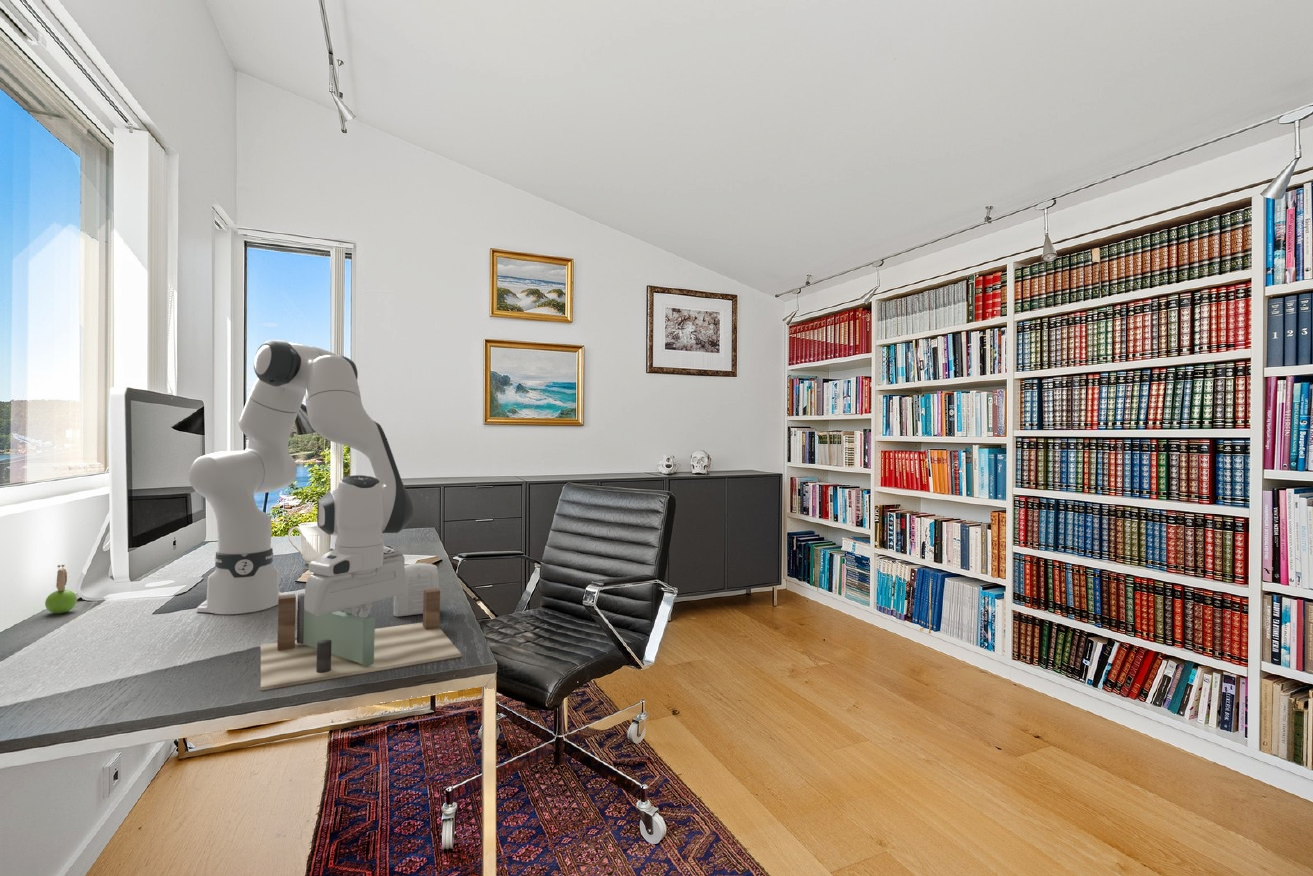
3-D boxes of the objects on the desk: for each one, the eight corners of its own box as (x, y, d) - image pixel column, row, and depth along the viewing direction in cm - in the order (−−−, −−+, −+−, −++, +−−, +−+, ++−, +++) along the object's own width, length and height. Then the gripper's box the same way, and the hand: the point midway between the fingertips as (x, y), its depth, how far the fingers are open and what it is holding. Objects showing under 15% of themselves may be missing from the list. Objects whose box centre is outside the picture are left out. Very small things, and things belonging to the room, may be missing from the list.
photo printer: (434, 608, 159) (436, 560, 159) (439, 612, 156) (440, 563, 156) (391, 614, 154) (392, 564, 153) (395, 618, 150) (396, 567, 150)
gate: (294, 642, 129) (295, 595, 129) (305, 639, 131) (306, 592, 131) (365, 666, 117) (367, 614, 117) (377, 662, 120) (378, 611, 119)
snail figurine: (43, 618, 142) (44, 566, 142) (45, 612, 147) (46, 561, 147) (76, 614, 146) (77, 563, 146) (77, 608, 151) (78, 558, 150)
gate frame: (260, 647, 129) (261, 594, 129) (433, 623, 147) (434, 577, 147) (260, 690, 109) (261, 627, 108) (461, 656, 127) (462, 602, 127)
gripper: (394, 547, 135) (393, 611, 135) (300, 564, 117) (298, 637, 118) (413, 551, 132) (412, 616, 132) (319, 569, 114) (318, 644, 114)
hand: (358, 626), depth 125 cm, fingers closed
